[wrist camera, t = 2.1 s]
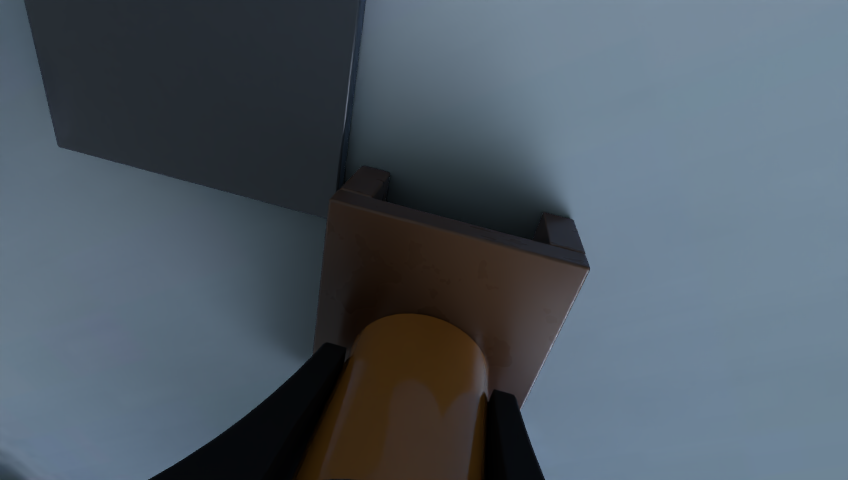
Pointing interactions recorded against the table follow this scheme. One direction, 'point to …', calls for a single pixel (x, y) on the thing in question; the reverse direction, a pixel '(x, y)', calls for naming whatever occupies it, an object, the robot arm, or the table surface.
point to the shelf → (447, 278)
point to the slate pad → (207, 89)
